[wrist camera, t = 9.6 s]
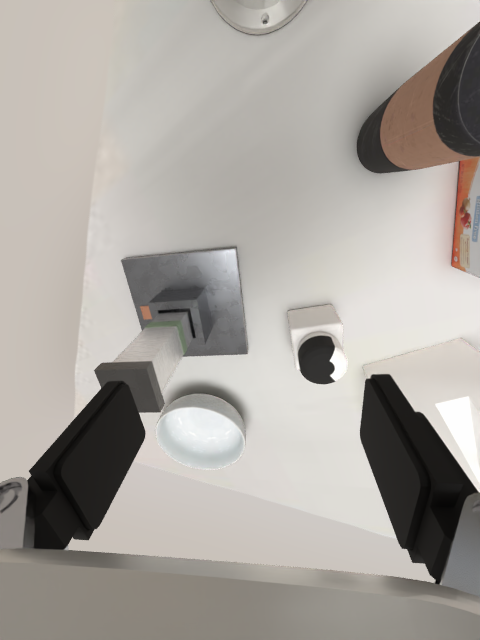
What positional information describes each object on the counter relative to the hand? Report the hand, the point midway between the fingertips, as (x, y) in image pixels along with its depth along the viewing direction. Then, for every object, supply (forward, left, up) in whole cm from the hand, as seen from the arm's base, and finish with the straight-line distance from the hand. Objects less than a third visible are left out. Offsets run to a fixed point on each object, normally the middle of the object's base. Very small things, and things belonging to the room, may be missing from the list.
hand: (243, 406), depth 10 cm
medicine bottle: (+13, +7, -32) cm, 36 cm away
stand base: (+8, -13, -32) cm, 36 cm away
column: (+8, -13, -25) cm, 29 cm away
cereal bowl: (+32, -14, -33) cm, 48 cm away
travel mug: (-12, +16, -32) cm, 38 cm away
